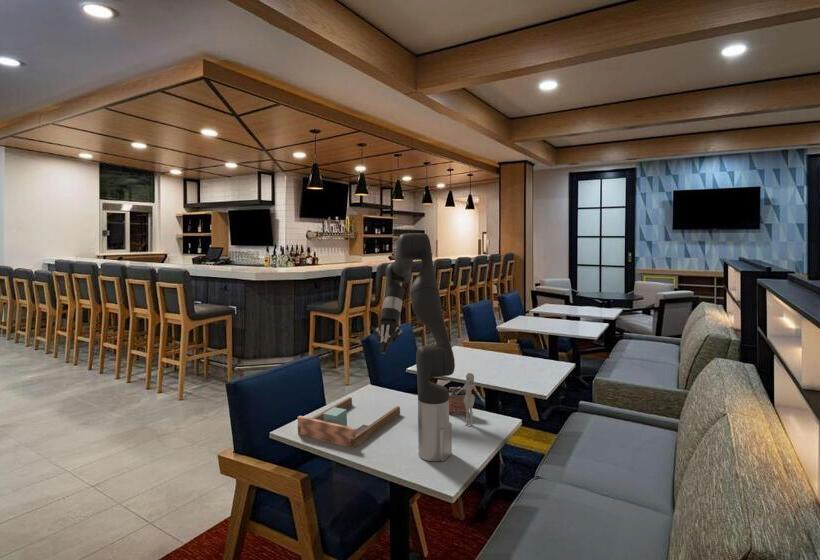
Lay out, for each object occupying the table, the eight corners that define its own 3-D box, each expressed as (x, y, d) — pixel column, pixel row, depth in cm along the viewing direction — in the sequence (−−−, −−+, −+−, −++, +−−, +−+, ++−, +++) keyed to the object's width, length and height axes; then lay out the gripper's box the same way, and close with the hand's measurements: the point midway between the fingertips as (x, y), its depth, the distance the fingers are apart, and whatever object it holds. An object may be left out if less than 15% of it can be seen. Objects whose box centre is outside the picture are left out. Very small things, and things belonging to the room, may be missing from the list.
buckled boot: (469, 412, 171) (469, 386, 170) (469, 416, 167) (469, 389, 166) (447, 411, 171) (447, 385, 170) (447, 415, 168) (447, 388, 167)
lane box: (400, 414, 169) (399, 398, 169) (353, 448, 143) (353, 429, 143) (349, 404, 180) (349, 389, 179) (298, 434, 154) (297, 416, 153)
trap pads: (374, 428, 158) (374, 426, 158) (361, 437, 151) (361, 436, 151) (331, 418, 166) (331, 417, 166) (317, 427, 159) (317, 426, 159)
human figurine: (452, 421, 163) (452, 371, 161) (458, 418, 165) (458, 369, 164) (480, 431, 155) (481, 378, 153) (487, 427, 157) (487, 375, 155)
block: (347, 432, 155) (346, 409, 154) (337, 439, 150) (336, 416, 149) (334, 429, 157) (334, 407, 156) (324, 437, 152) (323, 413, 151)
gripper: (372, 307, 182) (363, 349, 175) (401, 306, 175) (393, 350, 168) (382, 314, 188) (373, 356, 180) (410, 313, 181) (403, 356, 174)
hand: (383, 353), depth 174 cm, fingers closed
